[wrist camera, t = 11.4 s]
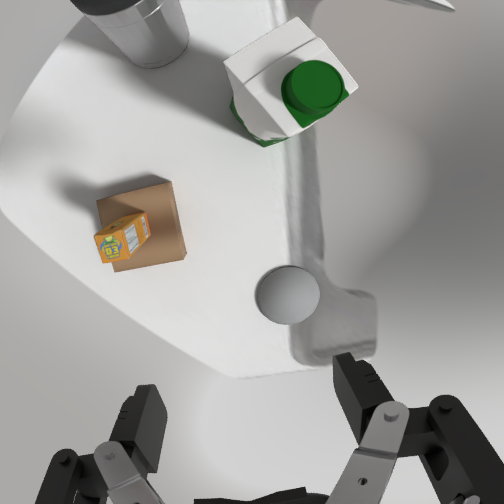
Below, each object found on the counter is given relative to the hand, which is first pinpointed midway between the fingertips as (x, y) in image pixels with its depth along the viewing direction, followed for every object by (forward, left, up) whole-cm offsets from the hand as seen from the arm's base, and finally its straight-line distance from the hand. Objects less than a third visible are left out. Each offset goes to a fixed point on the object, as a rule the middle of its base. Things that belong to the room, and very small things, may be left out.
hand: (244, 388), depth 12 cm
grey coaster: (+10, +6, -30) cm, 32 cm away
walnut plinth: (-4, -12, -30) cm, 33 cm away
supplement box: (-4, -12, -27) cm, 30 cm away
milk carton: (-16, +7, -30) cm, 35 cm away
